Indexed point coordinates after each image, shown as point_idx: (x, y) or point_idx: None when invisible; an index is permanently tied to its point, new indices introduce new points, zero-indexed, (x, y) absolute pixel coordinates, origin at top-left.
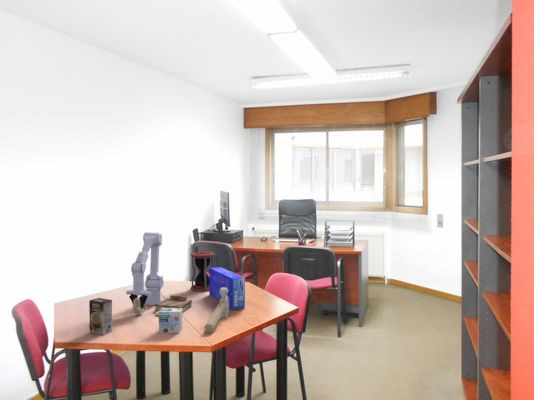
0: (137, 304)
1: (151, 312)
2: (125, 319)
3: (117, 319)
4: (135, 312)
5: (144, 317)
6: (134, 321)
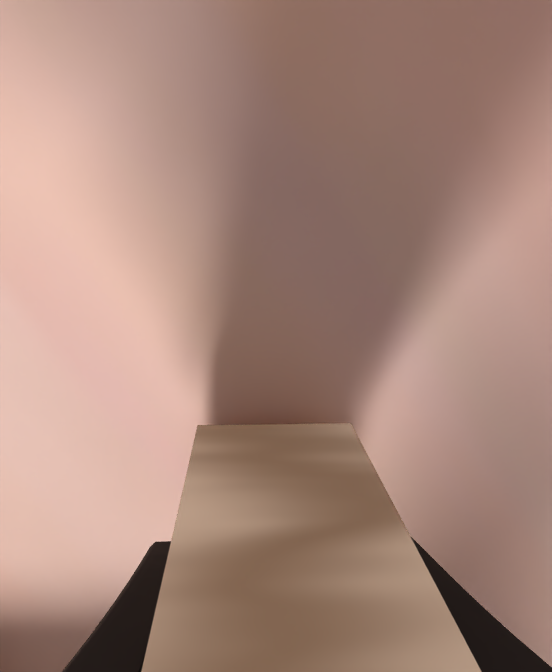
0: (260, 600)
1: None
2: (372, 144)
3: (539, 92)
4: (308, 440)
5: (72, 381)
6: (94, 65)
